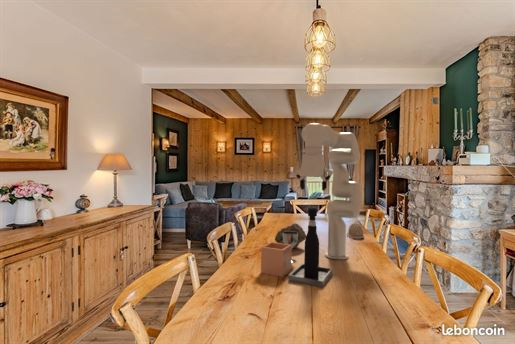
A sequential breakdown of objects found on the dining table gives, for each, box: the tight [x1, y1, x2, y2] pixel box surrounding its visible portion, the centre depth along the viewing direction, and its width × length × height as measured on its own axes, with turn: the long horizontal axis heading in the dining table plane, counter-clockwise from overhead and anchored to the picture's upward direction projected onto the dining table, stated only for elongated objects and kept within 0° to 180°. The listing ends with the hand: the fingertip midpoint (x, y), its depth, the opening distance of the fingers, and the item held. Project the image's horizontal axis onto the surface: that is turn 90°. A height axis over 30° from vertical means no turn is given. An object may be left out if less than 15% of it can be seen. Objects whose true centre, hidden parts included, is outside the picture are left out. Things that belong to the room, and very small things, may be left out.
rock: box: [274, 223, 307, 249], centre depth 184 cm, size 18×14×15 cm
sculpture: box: [346, 222, 365, 240], centre depth 220 cm, size 12×17×10 cm
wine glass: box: [283, 231, 298, 264], centre depth 160 cm, size 8×8×15 cm
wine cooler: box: [260, 241, 293, 278], centre depth 144 cm, size 11×11×12 cm
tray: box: [287, 263, 333, 288], centre depth 137 cm, size 18×15×2 cm
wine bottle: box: [303, 207, 320, 278], centre depth 137 cm, size 6×6×30 cm
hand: (313, 189), depth 136 cm, fingers open, 9 cm apart
